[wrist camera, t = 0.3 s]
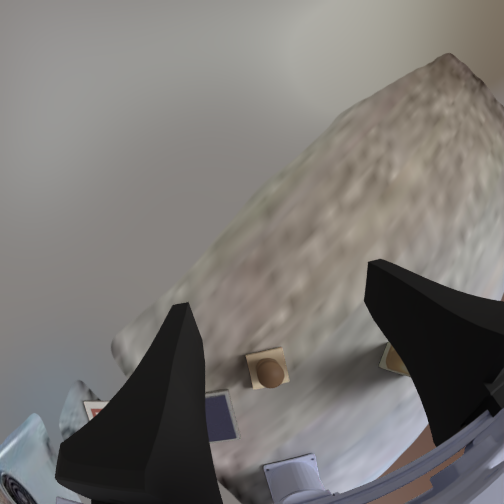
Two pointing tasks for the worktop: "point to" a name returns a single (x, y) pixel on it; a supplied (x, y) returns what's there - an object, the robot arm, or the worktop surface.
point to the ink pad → (220, 417)
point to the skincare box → (393, 361)
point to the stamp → (267, 368)
